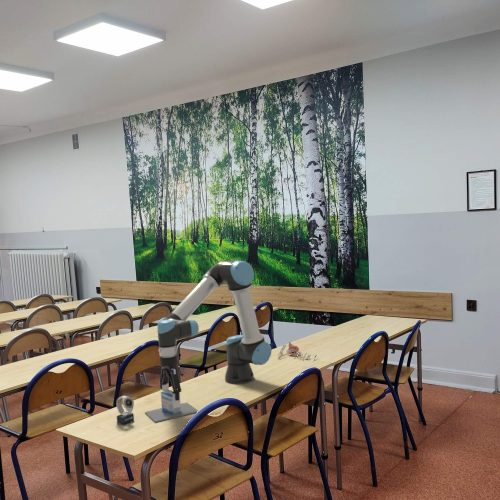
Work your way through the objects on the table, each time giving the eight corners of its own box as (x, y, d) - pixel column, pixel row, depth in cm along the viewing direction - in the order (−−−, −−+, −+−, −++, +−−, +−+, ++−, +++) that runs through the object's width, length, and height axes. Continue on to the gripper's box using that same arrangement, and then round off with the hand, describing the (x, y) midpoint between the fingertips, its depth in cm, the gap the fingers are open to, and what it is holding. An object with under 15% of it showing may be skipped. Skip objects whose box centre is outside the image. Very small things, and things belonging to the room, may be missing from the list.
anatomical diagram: (284, 340, 329) (321, 341, 317) (287, 352, 332) (324, 353, 320) (271, 361, 313) (310, 362, 301) (275, 373, 316) (314, 375, 304)
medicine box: (161, 411, 234) (160, 391, 233) (169, 408, 237) (167, 389, 237) (173, 414, 228) (172, 394, 228) (181, 411, 232) (180, 391, 231)
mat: (186, 403, 243) (186, 402, 243) (199, 412, 231) (198, 411, 231) (144, 413, 234) (144, 412, 234) (155, 422, 221) (155, 421, 221)
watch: (127, 425, 220) (125, 399, 219) (114, 422, 224) (112, 397, 224) (137, 421, 224) (135, 395, 224) (124, 418, 229) (122, 393, 228)
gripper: (150, 351, 240) (154, 397, 241) (170, 362, 218) (173, 413, 219) (166, 348, 244) (169, 393, 245) (186, 359, 222) (190, 409, 223)
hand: (171, 403), depth 232 cm, fingers open, 13 cm apart
